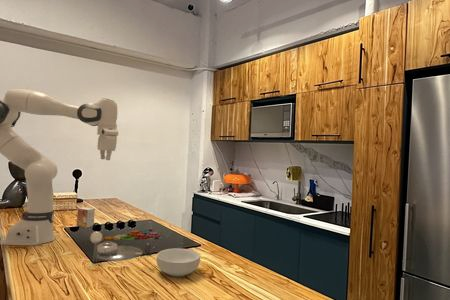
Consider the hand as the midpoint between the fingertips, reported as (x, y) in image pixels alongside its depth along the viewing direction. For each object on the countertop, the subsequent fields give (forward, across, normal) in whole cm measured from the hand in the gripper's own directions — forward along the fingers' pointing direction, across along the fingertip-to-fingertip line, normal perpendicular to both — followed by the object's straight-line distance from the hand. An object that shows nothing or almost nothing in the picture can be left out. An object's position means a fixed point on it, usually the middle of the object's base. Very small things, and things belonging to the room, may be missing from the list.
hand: (105, 159), depth 155 cm
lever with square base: (+41, +31, -10) cm, 52 cm away
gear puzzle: (+42, -2, +16) cm, 45 cm away
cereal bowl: (+41, +51, +16) cm, 68 cm away
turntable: (+41, +23, +4) cm, 47 cm away
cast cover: (+40, +21, -2) cm, 45 cm away
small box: (+41, -37, +1) cm, 56 cm away
